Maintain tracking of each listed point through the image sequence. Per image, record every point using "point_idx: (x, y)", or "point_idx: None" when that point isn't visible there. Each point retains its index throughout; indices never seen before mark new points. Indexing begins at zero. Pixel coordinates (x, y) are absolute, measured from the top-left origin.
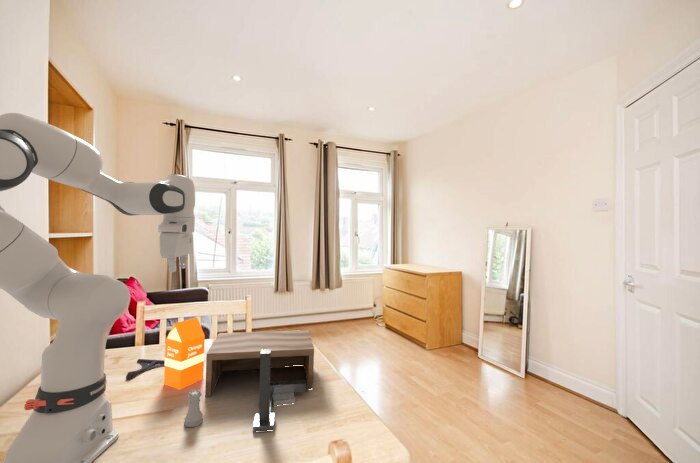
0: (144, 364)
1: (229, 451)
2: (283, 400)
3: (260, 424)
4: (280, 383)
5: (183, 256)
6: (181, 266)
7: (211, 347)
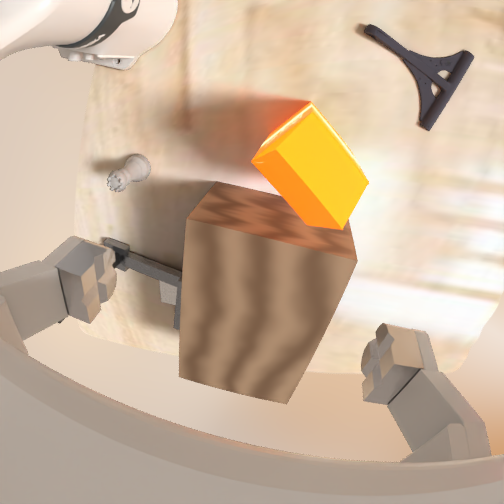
0: (443, 63)
1: (82, 210)
2: (160, 288)
3: None
4: (180, 301)
5: (420, 457)
6: (378, 349)
7: (230, 231)
